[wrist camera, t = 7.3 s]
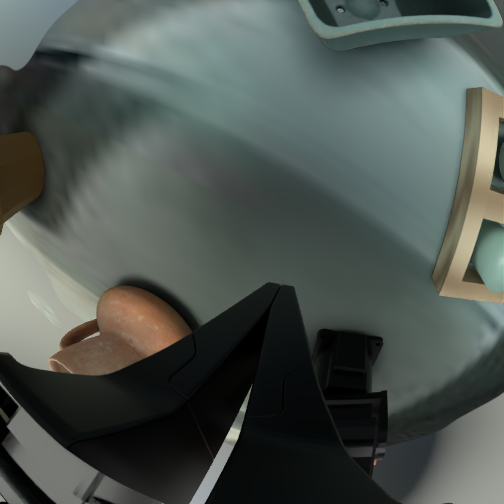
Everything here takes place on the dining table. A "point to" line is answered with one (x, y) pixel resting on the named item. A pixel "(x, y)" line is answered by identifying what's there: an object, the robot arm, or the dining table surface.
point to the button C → (501, 161)
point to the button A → (490, 255)
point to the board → (472, 200)
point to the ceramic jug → (120, 333)
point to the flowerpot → (19, 173)
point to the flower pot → (396, 20)
